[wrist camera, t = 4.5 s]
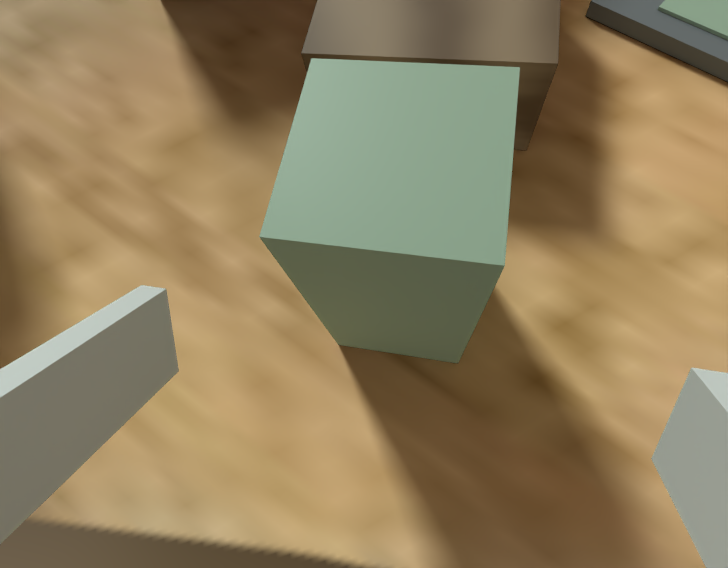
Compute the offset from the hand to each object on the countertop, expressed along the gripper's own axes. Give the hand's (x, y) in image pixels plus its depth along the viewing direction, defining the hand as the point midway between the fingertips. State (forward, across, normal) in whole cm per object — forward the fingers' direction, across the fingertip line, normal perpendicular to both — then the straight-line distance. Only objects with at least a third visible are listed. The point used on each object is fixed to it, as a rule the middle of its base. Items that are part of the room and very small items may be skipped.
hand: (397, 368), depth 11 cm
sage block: (+11, -1, -3) cm, 12 cm away
